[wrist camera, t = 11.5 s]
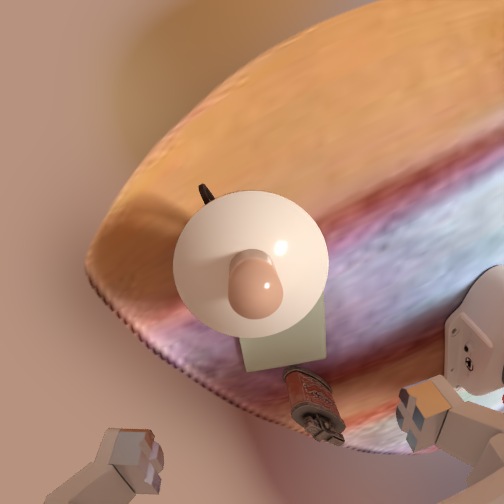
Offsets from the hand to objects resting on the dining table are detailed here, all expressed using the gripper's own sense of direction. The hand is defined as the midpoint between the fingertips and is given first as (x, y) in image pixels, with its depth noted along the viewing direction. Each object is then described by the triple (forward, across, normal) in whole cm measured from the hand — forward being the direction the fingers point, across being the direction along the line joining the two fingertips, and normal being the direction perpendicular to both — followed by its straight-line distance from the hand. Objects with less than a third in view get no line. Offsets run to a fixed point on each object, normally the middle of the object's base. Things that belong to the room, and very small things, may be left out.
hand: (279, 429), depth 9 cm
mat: (+25, -2, +12) cm, 28 cm away
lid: (+15, 0, 0) cm, 15 cm away
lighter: (+25, -5, +21) cm, 33 cm away
